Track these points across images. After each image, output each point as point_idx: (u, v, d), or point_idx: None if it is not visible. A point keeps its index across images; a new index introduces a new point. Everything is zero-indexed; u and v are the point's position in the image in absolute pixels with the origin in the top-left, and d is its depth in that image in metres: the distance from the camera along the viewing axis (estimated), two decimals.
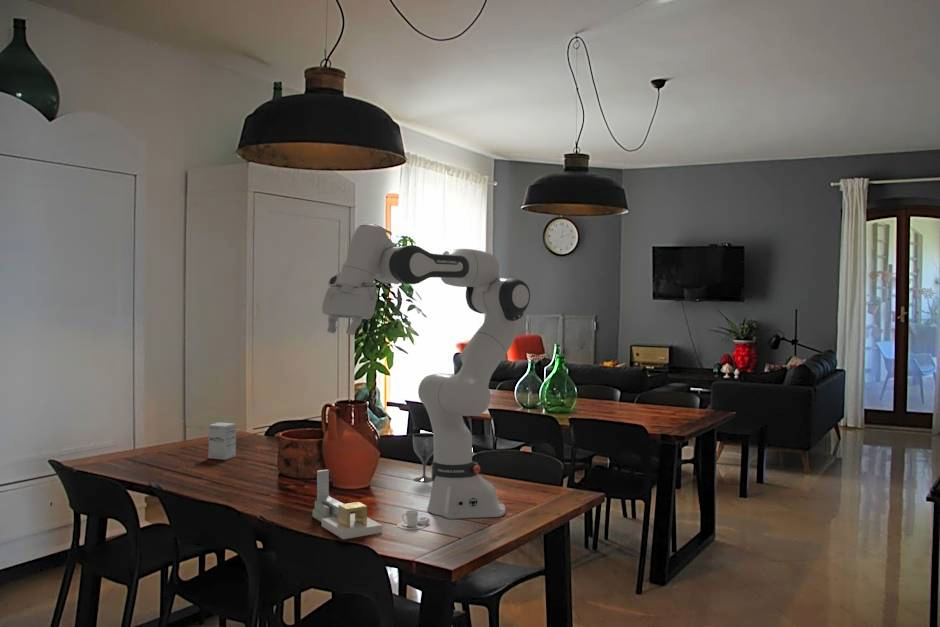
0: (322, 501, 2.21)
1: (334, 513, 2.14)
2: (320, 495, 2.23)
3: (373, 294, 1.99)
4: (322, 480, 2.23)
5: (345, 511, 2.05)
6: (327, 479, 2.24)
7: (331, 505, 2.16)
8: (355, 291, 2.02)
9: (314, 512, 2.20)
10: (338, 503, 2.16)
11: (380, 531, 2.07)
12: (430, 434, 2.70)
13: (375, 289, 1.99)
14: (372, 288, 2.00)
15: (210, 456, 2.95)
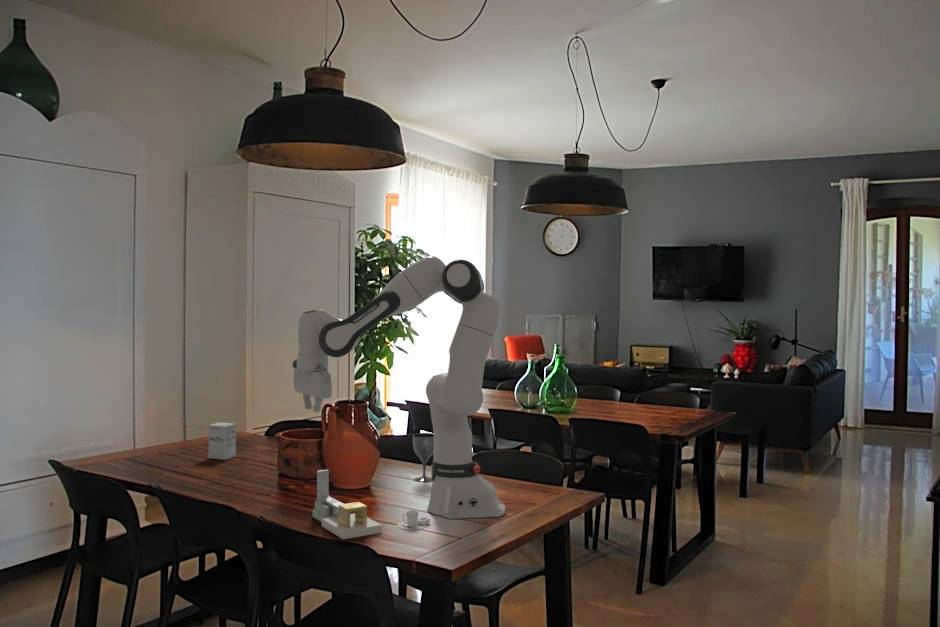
0: (322, 501, 2.21)
1: (334, 513, 2.14)
2: (320, 495, 2.23)
3: (326, 377, 2.28)
4: (322, 480, 2.23)
5: (345, 511, 2.05)
6: (327, 479, 2.24)
7: (331, 505, 2.16)
8: (312, 375, 2.32)
9: (314, 512, 2.20)
10: (338, 503, 2.16)
11: (380, 531, 2.07)
12: (430, 434, 2.70)
13: (326, 373, 2.28)
14: (324, 372, 2.29)
15: (210, 456, 2.95)
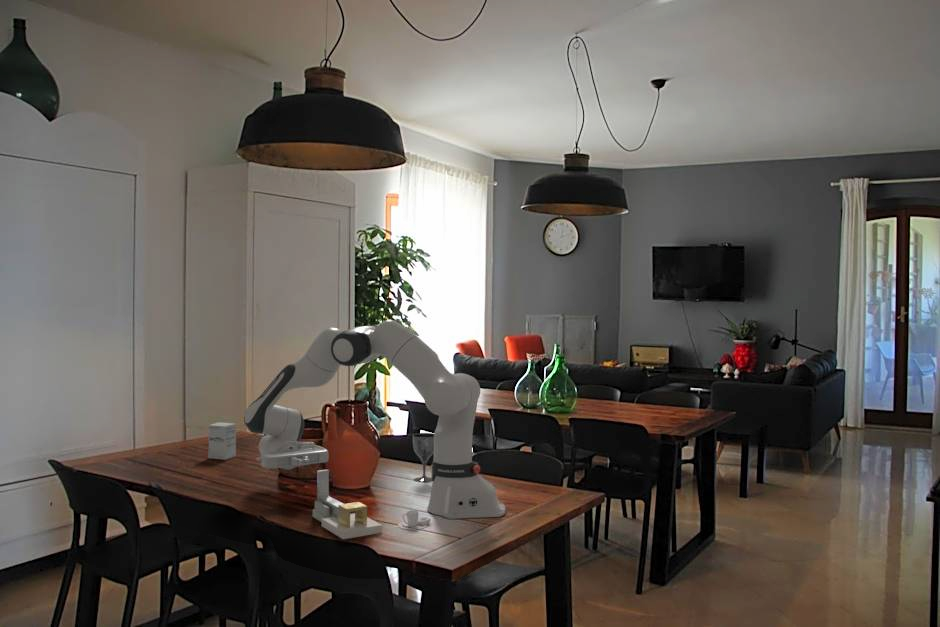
0: (322, 501, 2.21)
1: (334, 513, 2.14)
2: (320, 495, 2.23)
3: (258, 460, 2.38)
4: (322, 480, 2.23)
5: (345, 511, 2.05)
6: (327, 479, 2.24)
7: (331, 505, 2.16)
8: None
9: (314, 512, 2.20)
10: (338, 503, 2.16)
11: (380, 531, 2.07)
12: (430, 434, 2.70)
13: (256, 459, 2.39)
14: None
15: (210, 456, 2.95)
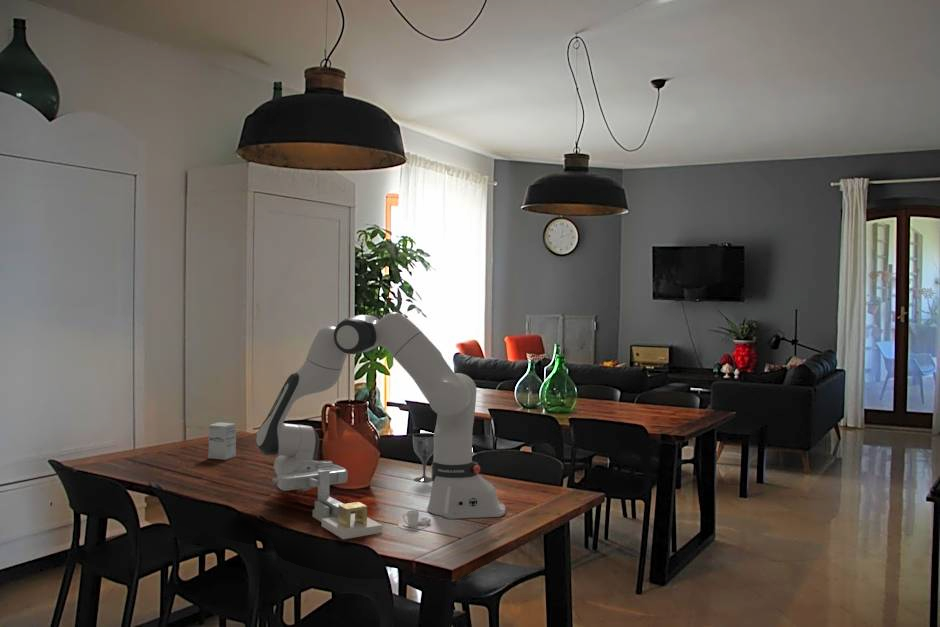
0: (323, 501, 2.21)
1: (335, 513, 2.14)
2: (321, 495, 2.23)
3: (274, 481, 2.27)
4: (323, 480, 2.23)
5: (345, 511, 2.05)
6: (328, 479, 2.24)
7: (332, 505, 2.15)
8: None
9: (314, 512, 2.20)
10: (339, 504, 2.15)
11: (380, 531, 2.07)
12: (430, 434, 2.70)
13: None
14: None
15: (210, 456, 2.95)
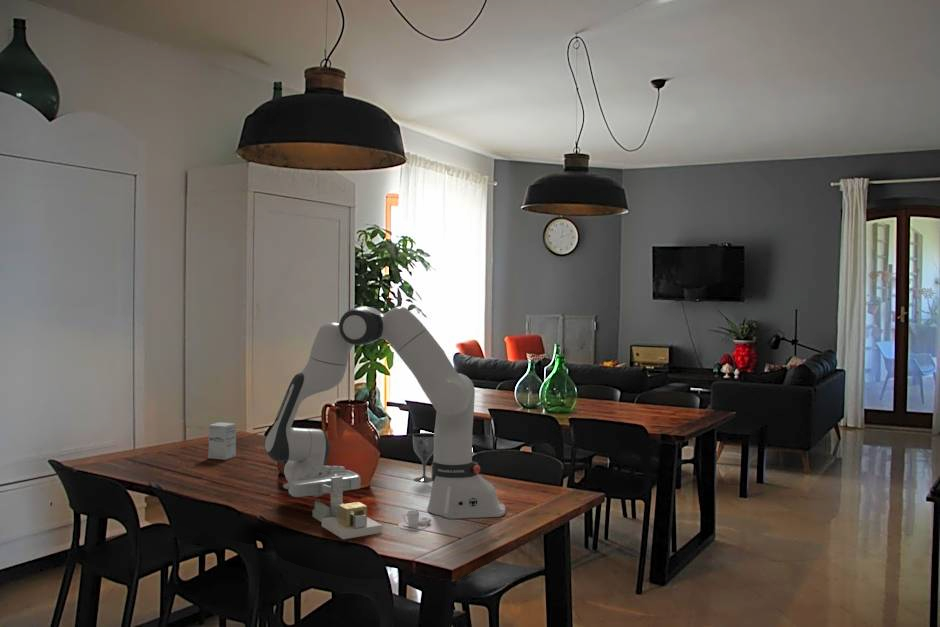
0: (336, 508, 2.13)
1: None
2: (334, 502, 2.15)
3: (285, 487, 2.20)
4: (336, 487, 2.16)
5: (345, 511, 2.05)
6: (341, 486, 2.16)
7: None
8: None
9: (314, 512, 2.20)
10: (353, 511, 2.08)
11: (380, 531, 2.07)
12: (430, 434, 2.70)
13: (283, 486, 2.21)
14: None
15: (210, 456, 2.95)
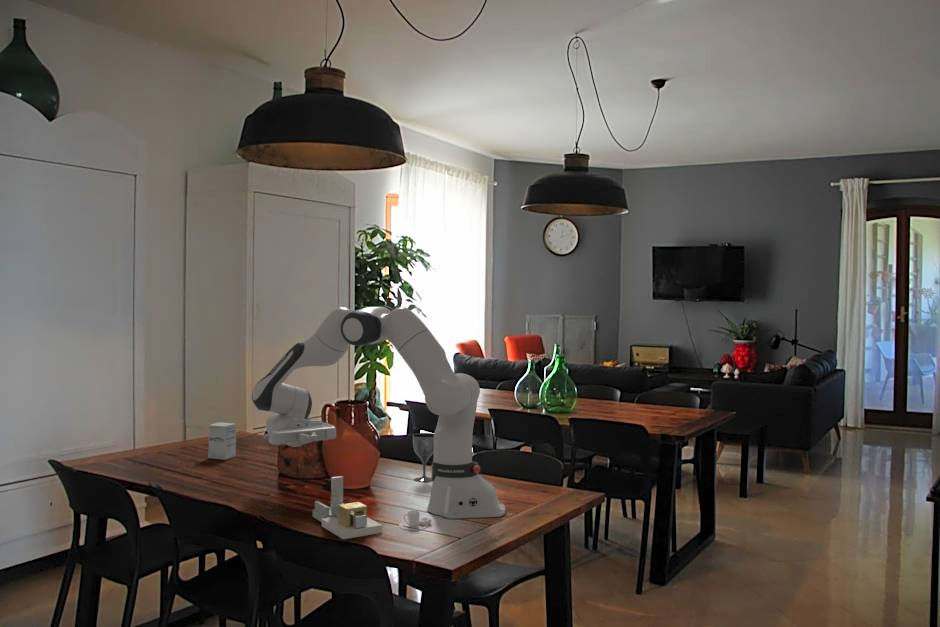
0: (336, 508, 2.13)
1: None
2: (334, 503, 2.15)
3: (265, 437, 2.37)
4: (336, 487, 2.15)
5: (345, 511, 2.05)
6: (341, 486, 2.16)
7: None
8: None
9: (314, 512, 2.20)
10: (353, 512, 2.08)
11: (380, 531, 2.07)
12: (430, 434, 2.70)
13: (264, 436, 2.38)
14: None
15: (210, 456, 2.95)
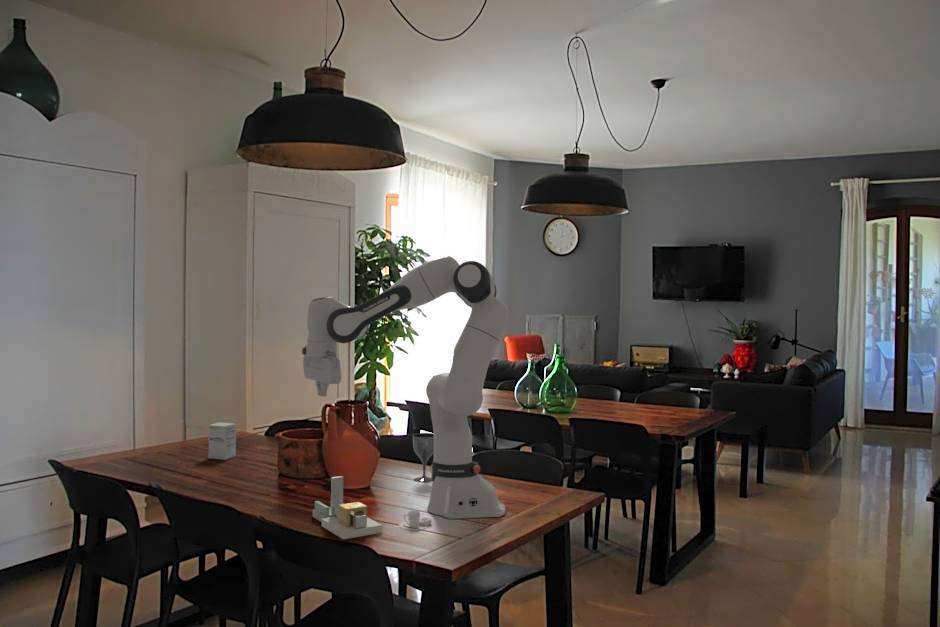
0: (336, 508, 2.13)
1: None
2: (334, 503, 2.15)
3: (335, 363, 2.32)
4: (336, 487, 2.15)
5: (345, 511, 2.05)
6: (341, 486, 2.16)
7: None
8: (322, 361, 2.36)
9: (314, 512, 2.20)
10: (353, 512, 2.08)
11: (380, 531, 2.07)
12: (430, 434, 2.70)
13: (336, 358, 2.32)
14: (333, 358, 2.33)
15: (210, 456, 2.95)
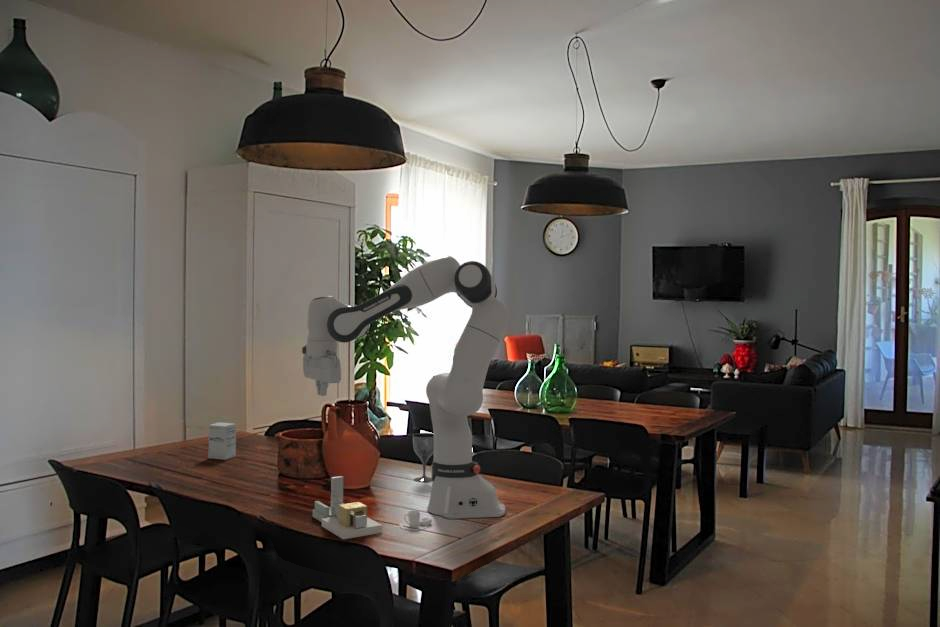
0: (336, 508, 2.13)
1: None
2: (334, 503, 2.15)
3: (335, 362, 2.32)
4: (336, 487, 2.15)
5: (345, 511, 2.05)
6: (341, 486, 2.16)
7: None
8: (322, 360, 2.36)
9: (314, 512, 2.20)
10: (353, 512, 2.08)
11: (380, 531, 2.07)
12: (430, 434, 2.70)
13: (336, 358, 2.32)
14: (333, 357, 2.33)
15: (210, 456, 2.95)
